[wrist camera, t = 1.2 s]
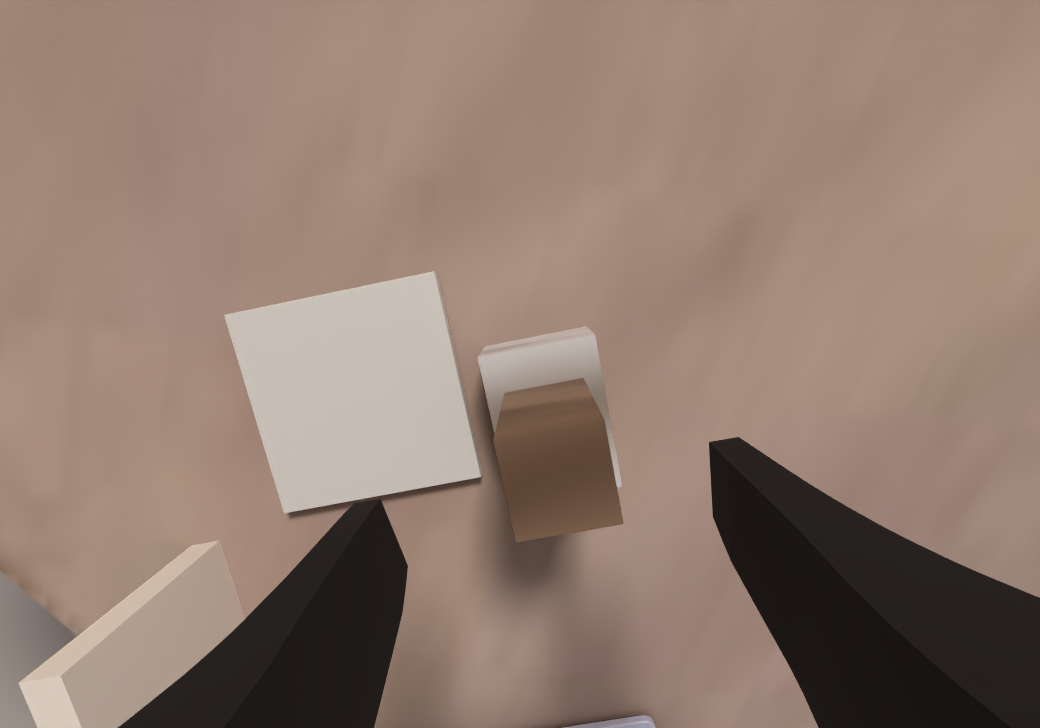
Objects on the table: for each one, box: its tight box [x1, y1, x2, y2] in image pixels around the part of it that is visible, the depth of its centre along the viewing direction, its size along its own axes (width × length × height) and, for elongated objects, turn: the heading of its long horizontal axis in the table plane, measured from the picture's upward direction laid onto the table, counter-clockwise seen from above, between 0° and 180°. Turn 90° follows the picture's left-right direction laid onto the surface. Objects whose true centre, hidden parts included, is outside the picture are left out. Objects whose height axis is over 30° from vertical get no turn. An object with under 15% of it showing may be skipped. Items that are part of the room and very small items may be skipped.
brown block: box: [478, 327, 623, 543], centre depth 18 cm, size 6×4×8 cm
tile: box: [19, 541, 245, 728], centre depth 20 cm, size 7×2×8 cm, turn 12°
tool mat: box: [224, 271, 482, 513], centre depth 22 cm, size 9×9×1 cm
